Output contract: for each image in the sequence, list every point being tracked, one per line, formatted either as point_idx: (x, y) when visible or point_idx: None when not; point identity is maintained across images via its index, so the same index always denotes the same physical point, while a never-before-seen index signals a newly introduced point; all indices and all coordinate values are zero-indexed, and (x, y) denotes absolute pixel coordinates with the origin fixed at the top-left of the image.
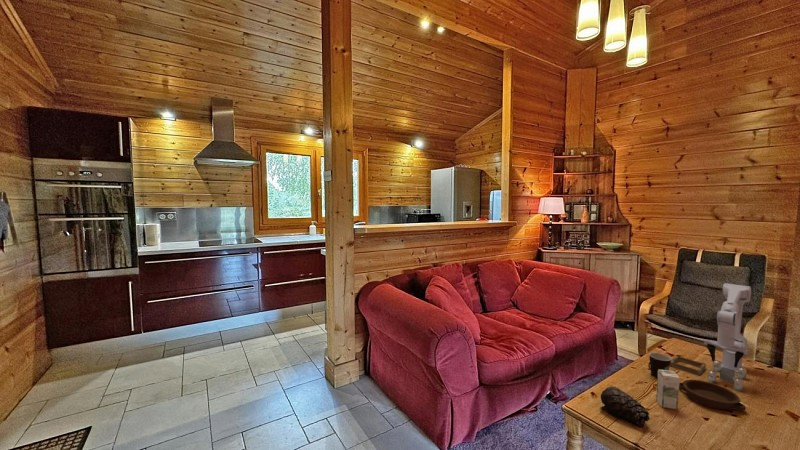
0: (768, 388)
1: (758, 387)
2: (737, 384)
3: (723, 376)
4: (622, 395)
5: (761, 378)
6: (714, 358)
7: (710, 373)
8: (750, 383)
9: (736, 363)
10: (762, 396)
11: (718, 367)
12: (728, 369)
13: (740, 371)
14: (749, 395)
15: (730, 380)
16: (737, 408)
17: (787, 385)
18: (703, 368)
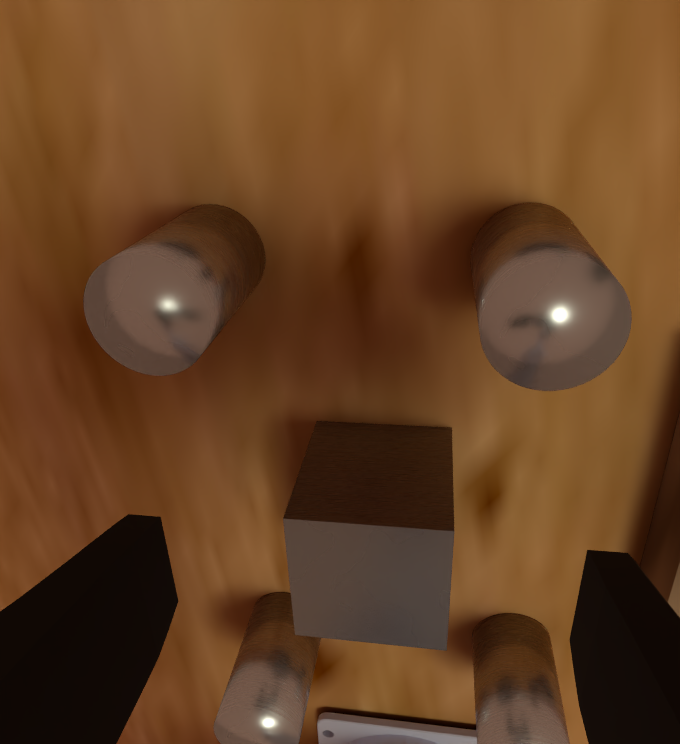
0: (72, 554)
1: (124, 513)
2: (174, 232)
3: (409, 461)
4: None
5: (183, 714)
6: (594, 659)
7: (578, 252)
8: (200, 555)
9: (37, 593)
10: (9, 299)
11: (497, 674)
12: (364, 614)
13: (271, 679)
14: (85, 190)
15: (333, 441)
16: None
17: None
18: (660, 565)
